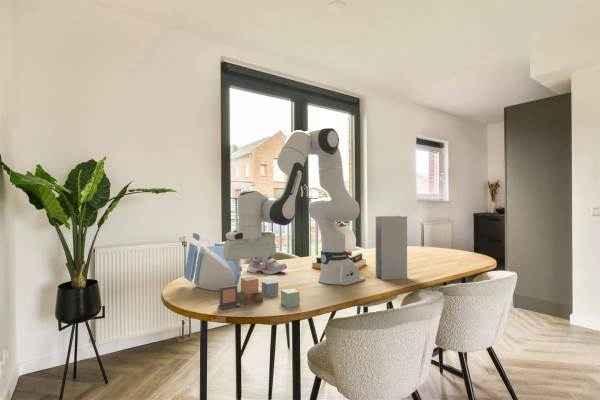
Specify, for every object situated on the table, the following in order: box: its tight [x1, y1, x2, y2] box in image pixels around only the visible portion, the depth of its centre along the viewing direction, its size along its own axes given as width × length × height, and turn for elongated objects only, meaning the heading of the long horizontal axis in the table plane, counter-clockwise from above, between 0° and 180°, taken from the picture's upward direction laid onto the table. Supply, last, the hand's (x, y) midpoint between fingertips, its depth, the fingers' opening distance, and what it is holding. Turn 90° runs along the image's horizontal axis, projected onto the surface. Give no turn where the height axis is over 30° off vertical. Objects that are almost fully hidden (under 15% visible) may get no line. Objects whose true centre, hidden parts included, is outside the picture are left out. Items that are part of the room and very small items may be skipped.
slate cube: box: [261, 279, 279, 297], centre depth 137 cm, size 5×5×5 cm
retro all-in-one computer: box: [183, 232, 242, 291], centre depth 147 cm, size 25×23×17 cm
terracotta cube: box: [240, 276, 260, 294], centre depth 126 cm, size 5×5×5 cm
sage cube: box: [280, 288, 301, 308], centre depth 123 cm, size 5×5×5 cm
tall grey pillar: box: [375, 215, 408, 281], centre depth 165 cm, size 14×6×30 cm, turn 108°
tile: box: [217, 285, 241, 311], centre depth 120 cm, size 7×3×7 cm, turn 123°
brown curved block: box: [237, 289, 264, 307], centre depth 127 cm, size 7×7×4 cm
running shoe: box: [246, 255, 287, 275], centre depth 178 cm, size 9×22×10 cm, turn 72°
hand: (251, 269), depth 127 cm, fingers open, 8 cm apart
